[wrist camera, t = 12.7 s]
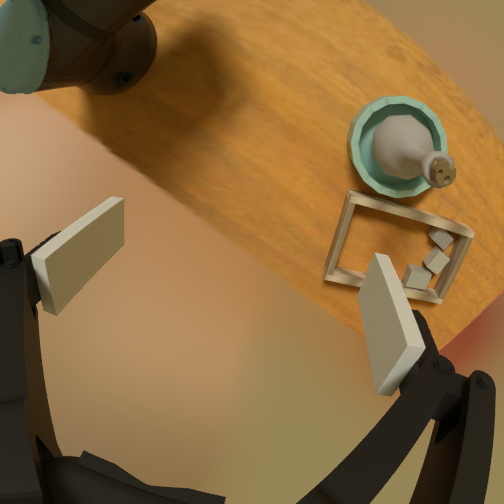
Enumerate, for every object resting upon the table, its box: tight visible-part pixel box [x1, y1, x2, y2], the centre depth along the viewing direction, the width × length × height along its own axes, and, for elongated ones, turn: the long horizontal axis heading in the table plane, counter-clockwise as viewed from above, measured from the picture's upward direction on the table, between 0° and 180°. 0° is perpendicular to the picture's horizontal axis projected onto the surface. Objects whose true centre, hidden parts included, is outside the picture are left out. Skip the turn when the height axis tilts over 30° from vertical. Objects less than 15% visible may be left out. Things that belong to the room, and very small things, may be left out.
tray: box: [323, 189, 475, 304], centre depth 47 cm, size 22×14×3 cm, turn 80°
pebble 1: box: [427, 226, 454, 250], centre depth 45 cm, size 4×2×2 cm
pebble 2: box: [423, 245, 450, 275], centre depth 47 cm, size 4×3×2 cm
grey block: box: [402, 264, 432, 290], centre depth 49 cm, size 4×3×2 cm
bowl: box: [347, 95, 448, 198], centre depth 39 cm, size 14×14×4 cm
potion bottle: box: [372, 115, 456, 189], centre depth 32 cm, size 9×9×18 cm
